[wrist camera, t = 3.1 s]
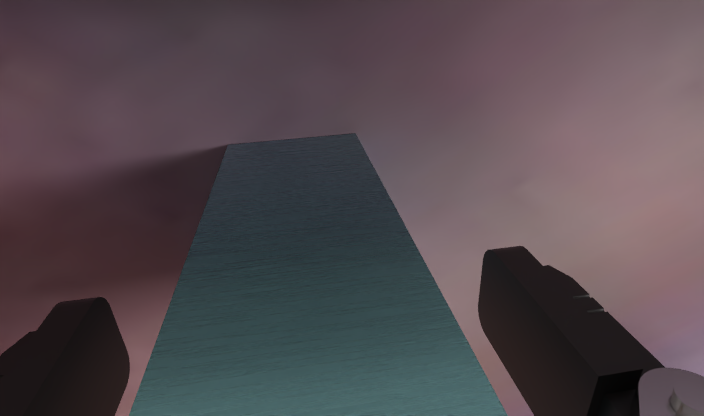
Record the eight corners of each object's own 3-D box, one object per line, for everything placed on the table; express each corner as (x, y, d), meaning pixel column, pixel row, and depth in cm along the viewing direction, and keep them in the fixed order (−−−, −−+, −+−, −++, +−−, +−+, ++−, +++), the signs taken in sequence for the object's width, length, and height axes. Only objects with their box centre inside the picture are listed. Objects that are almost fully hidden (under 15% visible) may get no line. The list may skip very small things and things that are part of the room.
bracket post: (355, 133, 14) (615, 614, 3) (360, 240, 15) (533, 780, 5) (227, 144, 13) (5, 756, 3) (248, 253, 15) (165, 879, 4)
